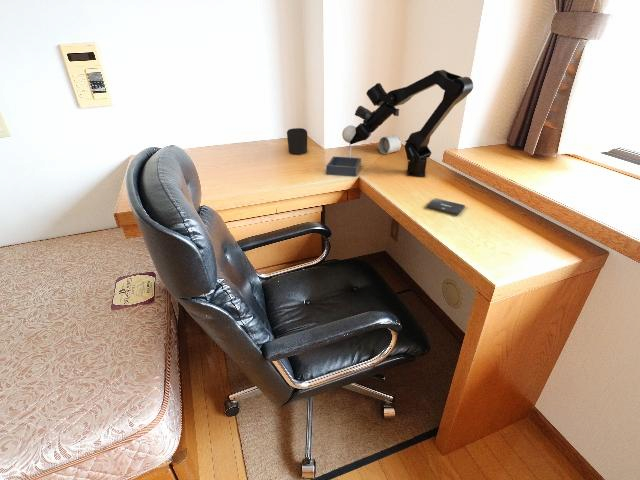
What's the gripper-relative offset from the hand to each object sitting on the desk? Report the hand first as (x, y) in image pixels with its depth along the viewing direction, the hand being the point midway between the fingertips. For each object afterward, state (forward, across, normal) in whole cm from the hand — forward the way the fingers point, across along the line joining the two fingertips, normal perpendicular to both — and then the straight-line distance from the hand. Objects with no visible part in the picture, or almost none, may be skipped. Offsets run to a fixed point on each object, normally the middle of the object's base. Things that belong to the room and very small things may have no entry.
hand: (353, 140), depth 150 cm
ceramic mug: (-2, -17, +15) cm, 23 cm away
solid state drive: (-23, +35, +36) cm, 55 cm away
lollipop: (+7, 0, +6) cm, 9 cm away
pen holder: (+26, -4, -14) cm, 30 cm away
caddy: (+6, +12, +6) cm, 15 cm away
